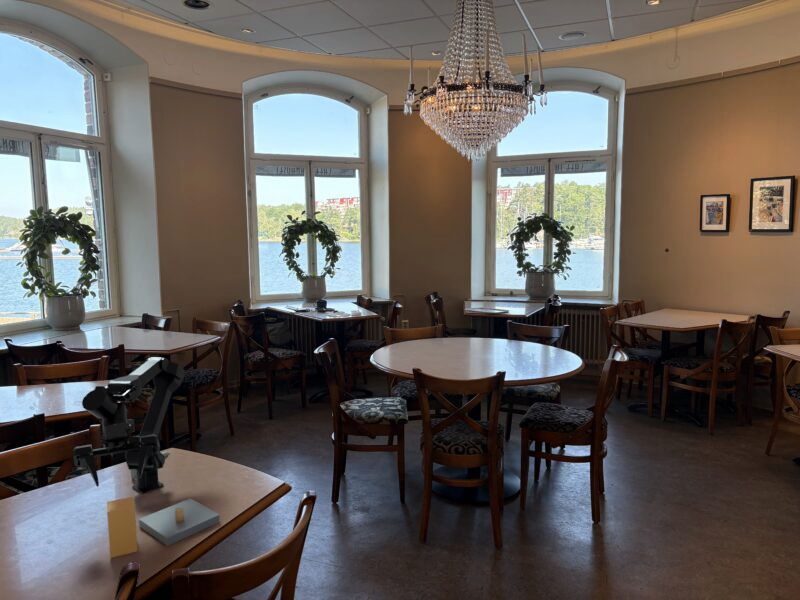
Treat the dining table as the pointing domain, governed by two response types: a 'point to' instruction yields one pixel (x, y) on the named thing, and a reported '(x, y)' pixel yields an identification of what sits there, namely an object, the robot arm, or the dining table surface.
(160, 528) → the terminal board
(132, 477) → the caliper
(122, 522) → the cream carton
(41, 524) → the dining table surface
